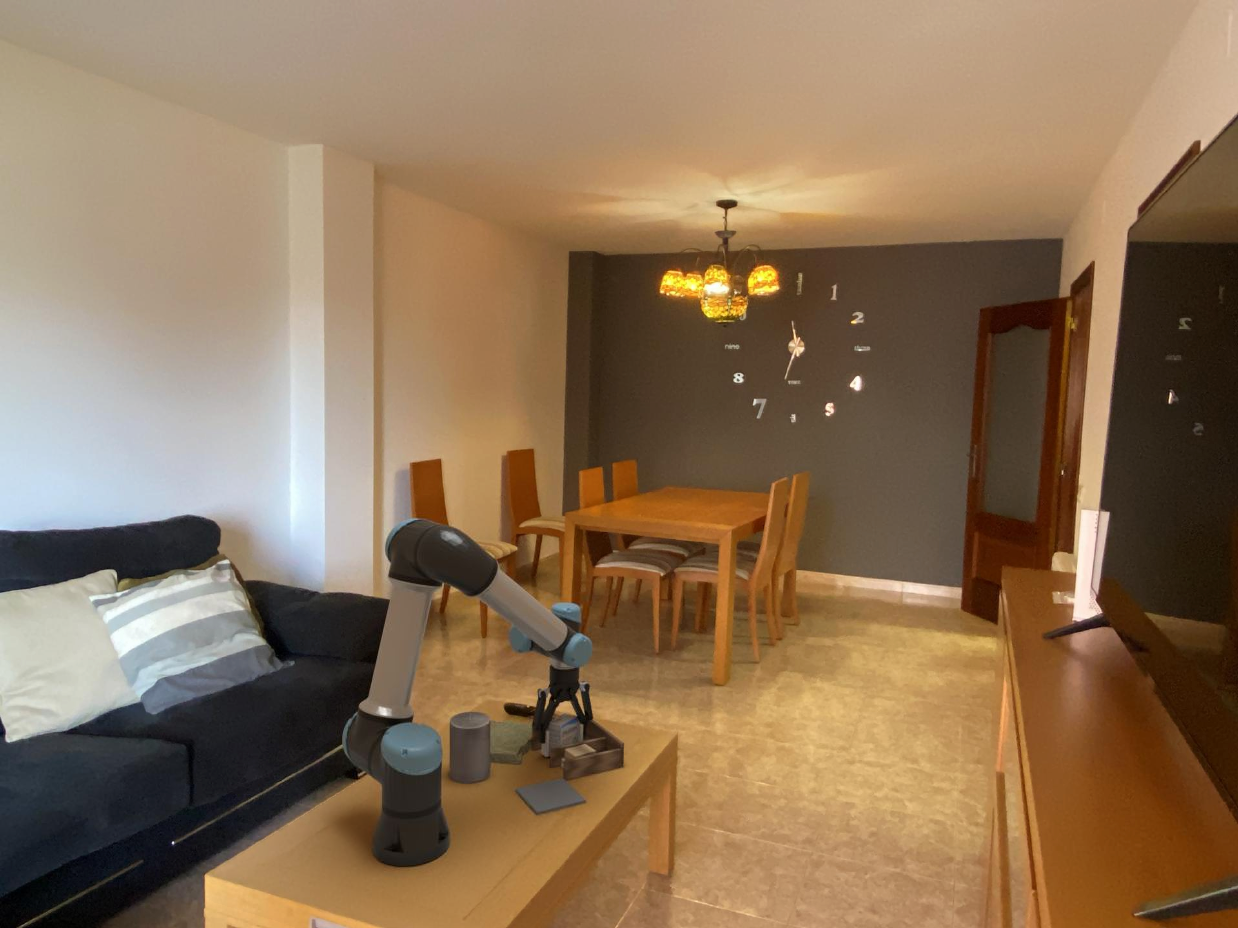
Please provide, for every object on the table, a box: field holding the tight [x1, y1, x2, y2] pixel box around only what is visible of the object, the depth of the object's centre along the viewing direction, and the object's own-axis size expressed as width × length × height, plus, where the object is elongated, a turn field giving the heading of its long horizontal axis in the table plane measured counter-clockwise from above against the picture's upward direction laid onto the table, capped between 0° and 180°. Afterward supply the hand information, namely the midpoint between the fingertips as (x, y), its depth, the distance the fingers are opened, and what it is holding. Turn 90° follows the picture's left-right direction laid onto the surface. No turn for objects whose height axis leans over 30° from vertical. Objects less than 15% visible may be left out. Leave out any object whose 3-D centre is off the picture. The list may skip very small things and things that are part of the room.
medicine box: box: [547, 712, 578, 757], centre depth 212 cm, size 8×4×9 cm, turn 149°
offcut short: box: [565, 744, 596, 760], centre depth 204 cm, size 6×5×2 cm
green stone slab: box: [490, 719, 532, 765], centre depth 216 cm, size 19×20×4 cm
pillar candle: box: [448, 711, 492, 784], centre depth 199 cm, size 10×10×15 cm
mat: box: [515, 777, 587, 816], centre depth 190 cm, size 12×12×1 cm
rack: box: [530, 719, 625, 781], centre depth 210 cm, size 16×20×6 cm
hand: (562, 751), depth 212 cm, fingers closed on medicine box, 9 cm apart
